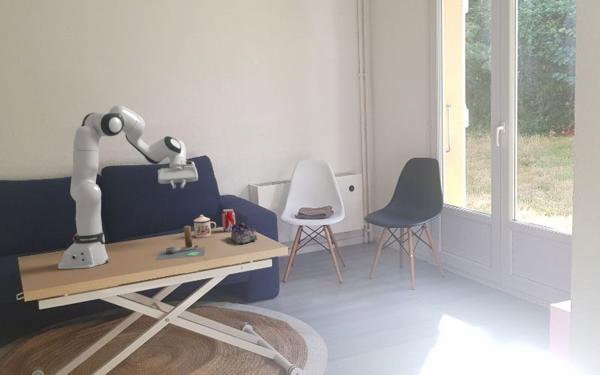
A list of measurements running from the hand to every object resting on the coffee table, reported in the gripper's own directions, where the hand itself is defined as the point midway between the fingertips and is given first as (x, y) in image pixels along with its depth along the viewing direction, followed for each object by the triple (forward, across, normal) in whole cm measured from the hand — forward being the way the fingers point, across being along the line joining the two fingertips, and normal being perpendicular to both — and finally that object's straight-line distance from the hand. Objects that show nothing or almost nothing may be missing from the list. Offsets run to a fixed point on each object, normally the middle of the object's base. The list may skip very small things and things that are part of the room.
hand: (178, 187), depth 295 cm
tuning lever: (+35, +1, +4) cm, 36 cm away
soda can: (+5, +24, +37) cm, 44 cm away
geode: (+23, +30, +19) cm, 42 cm away
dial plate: (+39, +1, +2) cm, 39 cm away
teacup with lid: (+10, +11, +32) cm, 35 cm away
